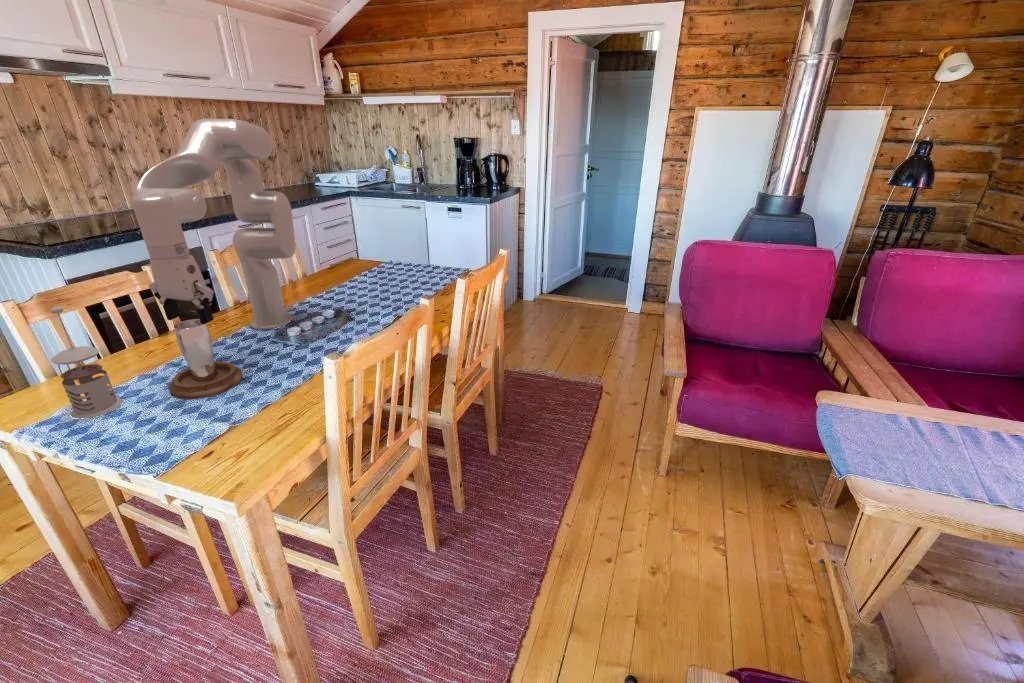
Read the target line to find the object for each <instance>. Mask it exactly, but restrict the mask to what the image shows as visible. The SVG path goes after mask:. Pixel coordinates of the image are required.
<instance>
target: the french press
mask: <svg viewBox="0 0 1024 683" xmlns="http://www.w3.org/2000/svg"><path fill="white" fill-rule="evenodd" d="M50 312H51V313H50V314H53V315H55V314H57V316H58V318H59V321H60V323H61V326H62V329H63V330H64V332H65V333H64V334H65V335H66V338H67V340H68V343H69V345H70V347H69V348H66V349H64V350H61V351H60V352H58V353H57V354H55V355H54V356H53V357H52V358H51V359H50V362H52V364H55V365H57V366H58V370H59V371H60V372H59V373H60V375H61V376H60V378H62V379H63V380H62V381H61V384H62V387H63V389H64V390H65V393H66V395H67V397H68V399H69V403H70V404H71V407H72V411H70V413H71V416H72V417H74V418H80V419H81V418H91V417H96V416H100V417H102V416H101V415H103V414H105V413H108V412H110V411H112V410H114V411H116V410H117V409H116V408H118V407H119V406H120V405H121V404H122V402H123V403H124V399H122V398H121V397H118V396H117V395H116V392H115V390H114V387H113V385H112V383H111V380H110V376H109V375H108V373H107V371H106V370H105V369H103V365H101V364H97V363H93V364H92V363H91V364H84V365H81V364H80V363H81V362H85V361H88V360H90V359H93V358H95V357H96V356H97V355H98V354H99V351H100V349H99V348H98V347H92V346H88V345H87V346H85V345H82V346H73V345H72V342H71V339H70V337H69V334H68V332H67V329H66V327H65V324H64V322H63V319H62V317H61V316H60V313H63V312H64V309H63V308H62V307H61V306H54V307H52V308H50ZM72 364H78V366H75V367H73V368H70V365H72ZM60 365H66V366H67V369H68V370H66V371H64V372H63V371H62V370H61V367H60ZM98 374H103V375H99V376H98ZM96 375H97V376H96ZM93 376H95V377H93ZM76 382H77V383H78V384H76ZM110 389H111V390H110ZM82 395H84V396H82ZM120 398H121V399H120ZM84 400H85V401H84ZM122 405H123V404H122ZM122 405H121V406H122ZM121 406H120V407H121ZM120 407H119V408H120ZM119 408H118V409H119ZM115 409H116V410H115ZM108 414H109V413H108ZM103 416H104V415H103ZM96 418H97V417H96Z"/></svg>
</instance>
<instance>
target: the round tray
mask: <svg viewBox="0 0 1024 683" xmlns="http://www.w3.org/2000/svg"><path fill="white" fill-rule="evenodd" d="M214 364H215V367H216V369H217V371H218V373H219V377H218V378H217V379H216V380H214V381H212V382H208V383H204V384H195V383H193V382H192V380H191V371H190V368H189V367H187V368H185V369H183V370H182V371H179V372H177V373H176V374H175V375H174V377H173V378H172V380H171V382H169V384H168V390H169V394H170V395H171V396H172V397H174V398H176V399H180V400H181V399H182V400H198V399H204V398H209V397H213V396H215V395H219V394H222V393H225V392H226V391H228V390H231V389H233V388H235V386H237V385H238V384H239V383H240V382H241V381H242V380H243V377H244V376H243V372H242V370H241V368H239V367H238V366H236V365H234V364H233V363H232V362H227V361H214Z"/></svg>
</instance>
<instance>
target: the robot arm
mask: <svg viewBox="0 0 1024 683" xmlns="http://www.w3.org/2000/svg"><path fill="white" fill-rule="evenodd" d="M271 138H272V137H271V136H270V134H269V133H268V131H267V130H265V129H264V128H263V127H261V126H259V125H256V124H253V123H250V122H247V121H244V120H240V119H236V118H201V119H197V120H195V121H193V123H192V124H191V125H190V127H189V129H188V131H187V133H186V135H185V137H184V139H183V141H182V142H181V145H180V146H179V148H178V151H177V152H176V153H175V154H174V155H172V156H169V157H168V158H165V159H164V160H163V161H161V162H160V163H157V164H156V165H154V166H151V168H149V169H148V170H147V171H145V173H143V174H142V176H141V178H140V179H139V181H138V183H137V185H136V186H135V188H134V191H133V194H132V200H131V205H132V208H133V210H134V215H135V217H136V220H137V223H138V227H139V229H140V232H141V236H142V239H143V241H144V244H145V247H146V250H147V253H148V255H149V262H150V268H151V274H152V278H153V282H152V283H150V284H148V287H149V289H150V291H151V292H152V293H153V295H154V297H155V299H157V300H158V303H159V304H160V305H161V306H162V308H163V310H164V313H165V314H164V315H165V317H166V319H167V321H173V320H174V319H176V318H179V317H181V313H180V312H181V311H180V309H179V306H178V303H177V301H176V300H178V301H188V302H192V303H193V304H194V305H195V306H196V307H197V308H196V312H197V316H198V319H200V322H201V324H206V325H207V324H208V323H210V322H212V321H214V316H213V312H212V309H211V305H212V303H213V301H214V294H215V293H214V290H213V289H212V288H210V287H209V286H207V284H206V282H205V279H204V276H203V274H202V272H201V269H200V267H199V264H198V262H197V261H196V259H195V257H194V256H193V255H192V254H190V248H189V247H188V243H187V241H186V237H185V234H184V230H183V227H182V224H184V223H193V222H197V221H200V220H202V219H203V218H204V216H205V215H206V213H207V208H208V205H207V201H206V198H205V197H204V196H203V195H202V194H201V193H200V192H198V191H196V190H195V189H191V188H186V187H190V186H193V185H197V184H199V183H203V182H205V181H208V180H209V179H211V178H212V177H213V176H215V174H216V171H217V169H218V166H219V163H220V164H221V165H222V166H223V168H224V170H225V171H226V174H227V177H228V182H229V188H230V194H231V200H232V206H233V211H234V215H235V218H236V219H237V220H238V221H240V222H241V223H246V224H272V225H273V227H243V228H240V229H238V230H236V231H235V232H234V234H233V236H232V245H233V249H234V251H235V254H236V256H237V258H238V260H239V263H240V266H241V268H242V273H243V277H244V279H245V280H244V281H245V283H246V284H245V285H246V288H247V294H248V298H249V302H250V305H251V309H252V314H253V319H251V321H250V322H249V324H250V328H251V327H252V328H251V329H253V328H255V329H254V330H256V329H261V330H260V331H267V330H266V329H272V330H274V329H273V328H277V327H280V326H283V325H285V324H287V323H289V322H290V321H291V320H292V321H293V318H292V315H291V314H290V315H289V314H288V313H289V312H290V311H292V310H294V308H295V306H294V305H293V304H292V303H290V304H288V305H286V306H285V304H284V299H283V293H282V289H281V285H280V284H281V283H280V279H279V274H278V270H277V269H276V267H275V265H274V264H273V263H272V262H271V260H278V259H279V260H283V259H284V260H286V259H290V258H292V257H293V256H294V255H295V253H296V238H295V236H296V235H295V228H294V219H293V212H292V207H291V206H292V205H291V203H290V201H289V198H288V197H287V196H286V194H284V193H283V192H280V191H277V190H276V191H275V190H264V189H263V184H262V177H261V173H260V171H259V170H258V168H257V167H256V166H255V164H253V162H252V161H251V160H264V159H268V158H269V157H270V156H271V155H272V152H273V141H272V139H271ZM199 299H200V300H201V301H200V300H199ZM264 329H265V330H264ZM277 329H278V328H277Z"/></svg>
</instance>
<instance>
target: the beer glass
mask: <svg viewBox="0 0 1024 683" xmlns="http://www.w3.org/2000/svg"><path fill="white" fill-rule="evenodd" d="M173 329H174V334H175V338H176V342H177V346H178V348H179V351H180V352H181V354H182V356H183V358H184V359H185V361H186V363H187V365H188V368H190V371H191V380H192V382H193V383H195V384H204V383H208V382H212V381H214V380H216V379H217V378H218V377H219V373H218V371H217V369H216V367H215V364H214V362H215V361H214V348H213V341H212V336H211V333H210V330H209V328H208V325H207V323H206V324H201V322H200V319H199V318H194V319H187V320H184V321H180V322H178V323H176V324H174V326H173Z"/></svg>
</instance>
